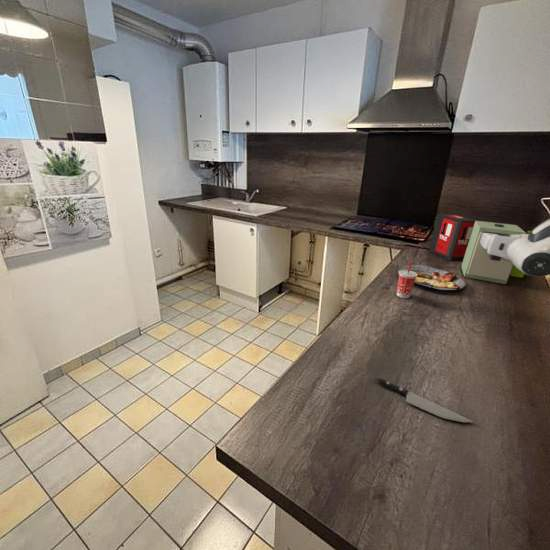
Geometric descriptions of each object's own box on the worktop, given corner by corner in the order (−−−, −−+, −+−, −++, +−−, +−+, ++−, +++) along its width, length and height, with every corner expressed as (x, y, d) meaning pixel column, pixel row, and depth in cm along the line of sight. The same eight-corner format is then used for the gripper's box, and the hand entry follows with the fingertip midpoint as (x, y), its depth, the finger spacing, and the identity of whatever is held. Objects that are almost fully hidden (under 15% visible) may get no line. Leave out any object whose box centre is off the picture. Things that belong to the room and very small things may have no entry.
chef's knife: (472, 434, 55) (473, 422, 57) (474, 430, 54) (475, 418, 57) (372, 387, 65) (376, 379, 67) (373, 384, 64) (377, 375, 66)
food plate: (467, 280, 123) (470, 272, 121) (460, 300, 105) (463, 292, 104) (405, 265, 136) (407, 258, 135) (390, 281, 119) (392, 273, 117)
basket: (508, 284, 115) (525, 240, 108) (468, 277, 121) (482, 235, 114) (499, 270, 130) (514, 230, 122) (464, 264, 135) (476, 226, 128)
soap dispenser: (524, 279, 126) (542, 234, 118) (505, 274, 130) (521, 230, 123) (527, 276, 129) (545, 232, 121) (509, 271, 134) (525, 228, 126)
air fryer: (505, 284, 120) (526, 231, 111) (464, 276, 126) (480, 225, 117) (499, 272, 132) (517, 223, 123) (461, 266, 138) (475, 219, 129)
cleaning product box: (465, 260, 146) (478, 220, 139) (450, 260, 145) (462, 221, 137) (442, 249, 161) (452, 213, 153) (428, 250, 160) (438, 213, 152)
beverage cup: (413, 294, 108) (422, 259, 103) (410, 300, 104) (419, 264, 98) (396, 290, 112) (404, 255, 106) (392, 296, 107) (400, 260, 101)
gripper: (572, 244, 84) (554, 234, 95) (488, 234, 92) (481, 225, 103) (562, 265, 86) (547, 252, 98) (481, 252, 94) (476, 242, 106)
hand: (512, 238), depth 100 cm, fingers open, 8 cm apart
